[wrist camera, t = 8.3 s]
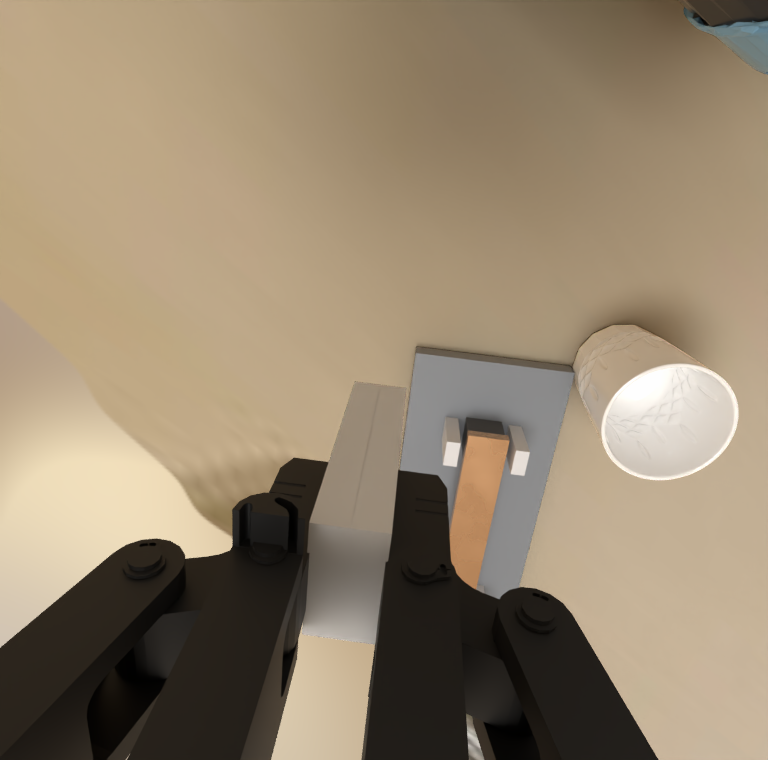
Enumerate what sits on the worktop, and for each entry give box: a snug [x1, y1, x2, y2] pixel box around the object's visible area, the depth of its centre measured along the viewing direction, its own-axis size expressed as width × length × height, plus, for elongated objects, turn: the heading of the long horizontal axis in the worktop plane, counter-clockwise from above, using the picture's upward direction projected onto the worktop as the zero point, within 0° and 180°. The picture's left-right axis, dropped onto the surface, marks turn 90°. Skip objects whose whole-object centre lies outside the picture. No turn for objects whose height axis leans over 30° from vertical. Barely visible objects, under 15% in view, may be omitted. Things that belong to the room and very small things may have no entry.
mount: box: [400, 347, 575, 599], centre depth 45 cm, size 25×12×6 cm, turn 174°
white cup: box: [573, 325, 739, 480], centre depth 38 cm, size 8×8×10 cm
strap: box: [449, 430, 510, 589], centre depth 44 cm, size 19×3×1 cm, turn 174°
